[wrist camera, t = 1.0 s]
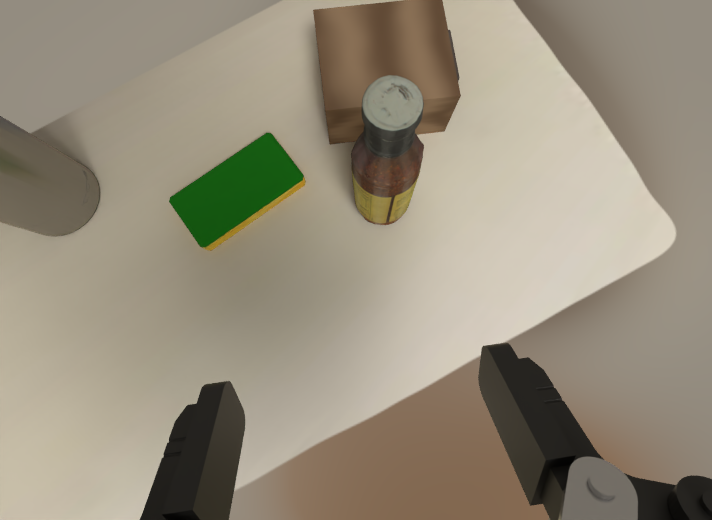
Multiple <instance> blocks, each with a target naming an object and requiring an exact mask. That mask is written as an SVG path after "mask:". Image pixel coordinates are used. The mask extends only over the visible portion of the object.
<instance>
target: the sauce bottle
mask: <svg viewBox="0 0 712 520" xmlns="http://www.w3.org/2000/svg"><path fill="white" fill-rule="evenodd" d="M423 107H424V102H423V96H422V94H421V92H420V89H419V88H418V87H417V86H416V85H415V84H414V83H413V82H411V81H410V80H408V79H406V78H403V77H400V76H393V75H388V76H383V77H381V78H378V79H377V80H376V81H374V82H373V83H372V84H370V85H369V86H368V88H367V89H366V91H365V93H364V95H363V98H362V109H361V113H362V119H363V123H364V131H363V133H362V134H361V135H360V136H359V137H358V139H357V141H356V143H355V145H354V147H353V150H352V153H351V158H352V178H353V186H354V195H355V202H356V206H357V208H358V210H359V212H360V213H361V214H362V215H363V216H364V218H365V219H366V220H367V221H368V222H371V223H374V224H380V225H389V224H391V223H394V222H395V221H397V220H398V219H399V218H400V217H401V216H402V215H403V214H404V213H405V212H406V210H407V208H408V206H409V203H410V200H411V197H412V194H413V191H414V188H415V185H416V182H417V179H418V176H419V173H420V168H421V162H422V158H423V149H424V145H423V143H421V141H420V140H419V138H418V137H417V135H416V133H415V129H416V128H417V127H418V125H419V124H420V122H421V119H422V115H423Z"/></svg>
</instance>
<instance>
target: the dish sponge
mask: <svg viewBox="0 0 712 520" xmlns="http://www.w3.org/2000/svg"><path fill="white" fill-rule="evenodd" d="M304 185H305V179H304V176H303V174H302V173H301V171H300V170H299V169H298V167H297V166H296V165H295V164H294V162H293V161H292V160H291V158H290V157H289V156H288V154H287V153H286V152H285V151H284V149H283V148H282V147H281V145H280V144H279V143H278V142H277V140H276V139H275V138H274V136H273V135H272V134H271V133H266V134H264V135H263V136H261V137H260V138H258V139H257V140H255V141H254V142H252V143H251V144H249V145H248V146H246V147H245V148H243V149H242V150H240V151H239V152H237V153H236V154H234V155H233V156H231V157H230V158H228V159H227V160H225V161H224V162H222V163H221V164H219V165H218V166H216V167H215V168H214V169H212V170H211V171H209V172H208V173H206V174H205V175H203V176H202V177H200V178H199V179H197V180H196V181H194V182H193V183H191V184H190V185H188V186H187V187H185V188H184V189H182V190H181V191H179V192H178V193H176V194H175V195H173V196H172V197H170V200H169V202H170V204H171V205H172V206H173V208H174V209H175V211H176V212H177V214H178V215H179V217H180V218H181V219H182V221H183V222H184V224H185V225H186V227H187V228H188V229H189V231H190V232H191V234H192V235H193V237H194V238H195V240H196V241H197V242H198V244H199V245H200V247H202V248H204V249H206V250H213V249H214V248H216V247H217V246H218V245H220V244H221V243H223V242H224V241H226V240H227V239H228V238H230V237H231V236H233V235H234V234H236V233H237V232H238V231H240V230H241V229H243V228H244V227H246V226H247V225H248V224H250V223H251V222H253V221H254V220H256V219H257V218H258V217H260V216H261V215H263V214H264V213H266V212H267V211H269V210H270V209H271V208H273V207H274V206H276V205H277V204H279V203H280V202H281V201H283V200H284V199H286V198H287V197H289V196H290V195H291V194H293V193H294V192H296V191H297V190H299V189H300V188H301V187H303V186H304Z"/></svg>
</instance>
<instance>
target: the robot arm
mask: <svg viewBox="0 0 712 520" xmlns="http://www.w3.org/2000/svg"><path fill="white" fill-rule="evenodd" d="M99 195H100V192H99V185H98V182H97V179H96V178H95V176H94V175H93V173H92V172H91V171H90V170H89V169H88V168H87V167H85V166H83V165H82V164H80V163H78V162H76V161H75V160H73V159H71V158H70V157H68V156H66V155H65V154H63V153H61V152H60V151H58V150H57V149H55V148H53V147H52V146H50V145H48V144H47V143H45V142H43V141H42V140H40V139H38V138H36V137H35V136H33V135H31V134H30V133H28V132H26V131H25V130H23V129H21V128H20V127H18V126H16V125H15V124H13V123H11V122H10V121H8V120H6V119H4V118H3V117H1V116H0V222H2V223H5V224H9V225H12V226H15V227H19V228H22V229H26V230H29V231H32V232H36V233H39V234H43V235H46V236H62V235H66V234H69V233H72V232H74V231H76V230H77V229H79V228H81V227H82V226H83V225H84V224H86V223H87V222H88V220H89V219H90V218H91V217H92V215H93V214H94V212H95V210H96V208H97V205H98V202H99ZM478 378H479V386H480V391H481V394H482V397H483V399H484V401H485V403H486V406H487V408H488V410H489V412H490V415H491V417H492V419H493V422H494V424H495V426H496V428H497V430H498V433H499V435H500V438H501V440H502V442H503V444H504V447H505V449H506V451H507V453H508V456H509V458H510V460H511V463H512V465H513V467H514V469H515V472H516V474H517V476H518V479H519V481H520V483H521V485H522V488H523V490H524V492H525V495H526V497H527V499H528V501H529V504H530V505H537V504H543V505H544V507H545V509H546V511H547V513H548V515H549V520H712V479H710V478H706V477H702V476H687V477H684V478H682V479H681V480H680V481H679V482H678V484H677V485H672V484H666V483H661V482H656V481H650V480H645V479H639V478H635V477H632V476H630V475H627V474H625V473H623V472H622V471H621V470H620V469H618V468H617V467H615V466H614V465H612V464H611V463H609V462H607V461H605V460H604V459H603V458H602V457H601V456H600V455H599V454H598V453H597V451H596V450H595V449H594V447H593V445H592V444H591V442H590V441H589V439H588V438H587V436H586V435H585V433H584V432H583V430H582V428H581V427H580V425H579V424H578V422H577V421H576V419H575V418H574V416H573V415H572V413H571V411H570V410H569V408H568V407H567V405H566V404H565V402H564V401H562V398H561V396H560V394H559V393H558V392H557V390H556V389H555V388H554V386H553V384H552V382H551V381H550V379H549V377H548V376H547V374H546V373H545V371H544V370H543V369H542V368H541V367H539V366H538V365H537V364H535V362H533V361H532V360H531V359H530V358H522V359H518V357H517V355H516V354H515V352H514V351H513V349H512V347H511V346H510V345H509V344H508V343H501V344H494V345H486V346H483V347H482V351H481V360H480V368H479V377H478ZM244 431H245V414H244V410H243V407H242V405H241V403H240V401H239V399H238V396H237V394H236V392H235V390H234V388H233V386H232V384H231V382H230V381H226V382H219V383H212V384H206V385H204V386H203V387H202V389H201V392H200V395H199V398H198V401H197V404H192V405H187V406H186V408H185V409H184V410H183V412H182V413H181V414H180V416H179V417H178V418H177V420H176V421H175V423H174V426H173V429H172V432H171V435H170V437H169V443H167V446H166V449H165V452H164V457H163V458H162V460H161V463H160V466H159V468H158V471H157V474H156V477H155V480H154V482H153V485H152V488H151V491H150V494H149V496H148V499H147V502H146V505H145V508H144V511H143V513H142V516H141V518H140V520H229V514H230V509H231V503H232V498H233V492H234V487H235V481H236V476H237V470H238V464H239V459H240V453H241V448H242V442H243V436H244Z"/></svg>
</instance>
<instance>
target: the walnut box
mask: <svg viewBox="0 0 712 520" xmlns="http://www.w3.org/2000/svg"><path fill="white" fill-rule="evenodd" d="M313 11H314V20H315V28H316V37H317V45H318V53H319V62H320V70H321V79H322V87H323V95H324V104H325V112H326V119H327V126H328V134H329V141H330V144H336V143H345V142H354V141H357V139H358V137H359V136H360V135H361V134H362V133H363V131H364V123H363V119H362V113H361V109H362V98H363V95H364V93H365V91H366V89H367V88H368V86H369V85H370V84H372V83H373V82H374V81H376V80H377V79H378V78H381V77H383V76H388V75H393V76H400V77H403V78H406V79H408V80H410V81H411V82H413V83H414V84H415V85H416V86H417V87H418V88H419V89H420V92H421V94H422V96H423V102H424V107H423V115H422V119H421V122H420V124H419V125H418V127H417V128H416V129H415V133H416V134H425V133H434V132H443V131H445V129H446V127H447V124H448V122H449V120H450V118H451V116H452V113H453V111H454V109H455V107H456V105H457V103H458V100H459V98H460V96H461V95H460V90H459V85H458V80H459V73H458V68H457V63H456V58H455V53H454V47H453V42H452V37H451V32H450V30H448V28H447V22H446V17H445V12H444V7H443V2H442V0H404V1H395V2H385V3H375V4H366V5H356V6H346V7H337V8H327V9H317V10H313Z"/></svg>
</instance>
